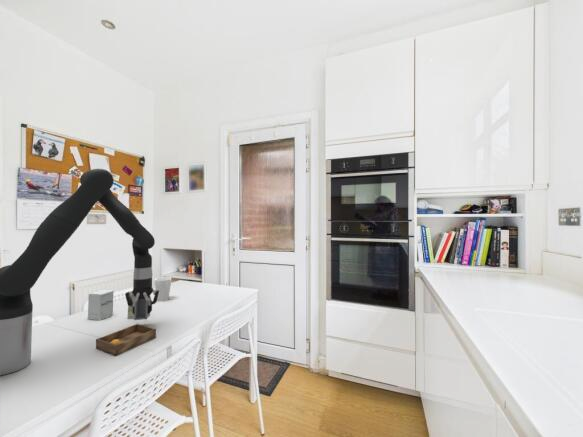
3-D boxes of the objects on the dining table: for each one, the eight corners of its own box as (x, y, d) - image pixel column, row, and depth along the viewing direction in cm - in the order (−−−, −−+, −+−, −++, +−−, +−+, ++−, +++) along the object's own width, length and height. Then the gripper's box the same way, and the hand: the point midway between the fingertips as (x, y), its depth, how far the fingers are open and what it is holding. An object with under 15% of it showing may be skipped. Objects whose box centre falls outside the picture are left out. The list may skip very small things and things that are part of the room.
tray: (115, 356, 89) (115, 346, 89) (95, 348, 94) (96, 339, 94) (155, 337, 104) (156, 329, 104) (137, 331, 109) (137, 323, 109)
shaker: (137, 316, 117) (138, 299, 117) (149, 315, 118) (150, 298, 118) (134, 320, 112) (134, 302, 112) (146, 319, 113) (147, 301, 114)
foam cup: (154, 298, 156) (155, 277, 156) (171, 296, 160) (171, 276, 160) (153, 303, 147) (154, 280, 147) (170, 301, 151) (171, 279, 151)
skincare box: (127, 319, 123) (127, 294, 123) (130, 315, 127) (130, 291, 127) (141, 317, 124) (142, 293, 125) (144, 314, 129) (144, 291, 129)
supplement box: (99, 320, 120) (100, 294, 120) (87, 319, 122) (87, 293, 122) (113, 315, 127) (114, 290, 128) (101, 314, 129) (102, 289, 129)
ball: (121, 336, 95) (120, 343, 93) (119, 343, 96) (119, 350, 94) (111, 337, 93) (110, 344, 91) (109, 344, 94) (108, 351, 92)
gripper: (122, 279, 110) (121, 318, 110) (158, 277, 114) (157, 315, 114) (128, 275, 117) (127, 312, 117) (161, 274, 121) (161, 309, 121)
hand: (142, 313), depth 115 cm, fingers closed on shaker, 5 cm apart
